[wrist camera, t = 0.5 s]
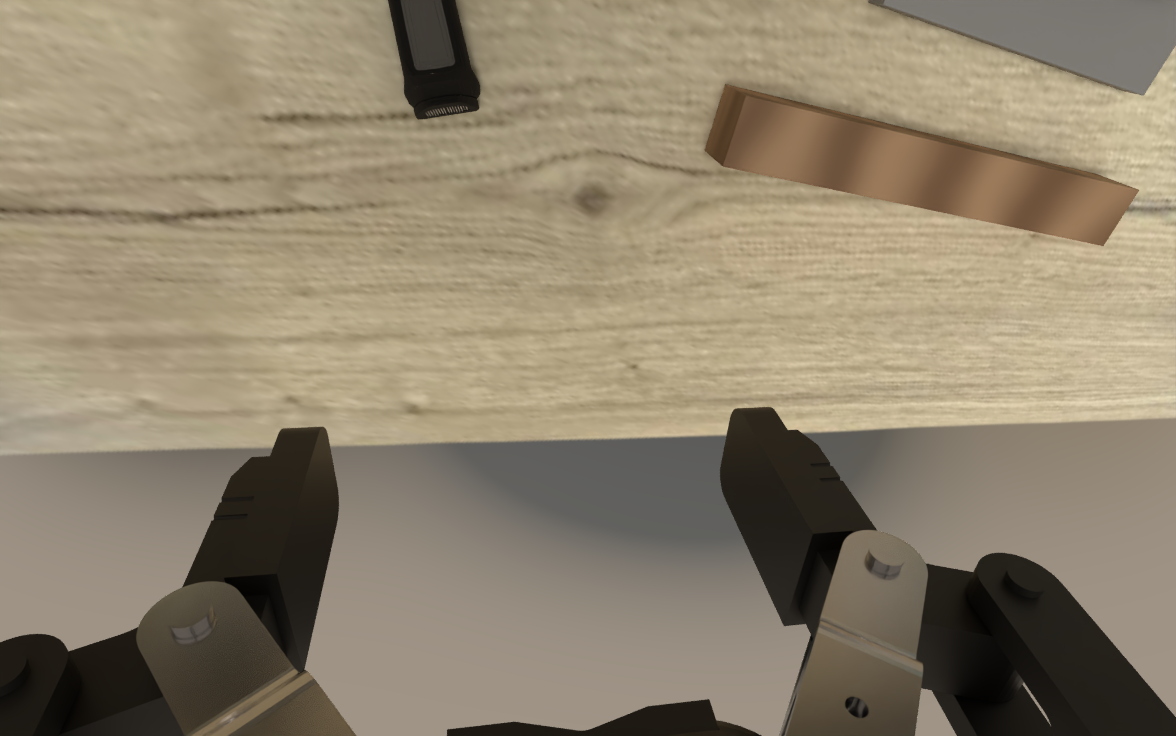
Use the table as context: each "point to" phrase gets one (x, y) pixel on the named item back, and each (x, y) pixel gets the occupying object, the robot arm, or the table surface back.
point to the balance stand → (1064, 33)
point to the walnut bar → (912, 167)
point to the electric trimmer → (434, 58)
